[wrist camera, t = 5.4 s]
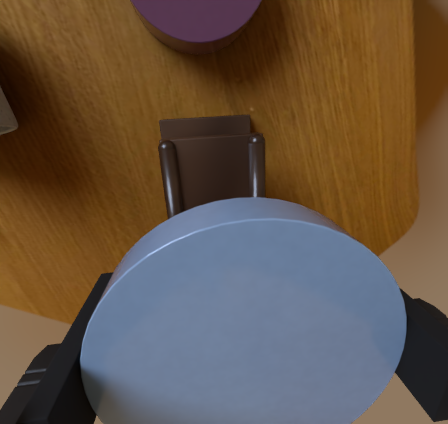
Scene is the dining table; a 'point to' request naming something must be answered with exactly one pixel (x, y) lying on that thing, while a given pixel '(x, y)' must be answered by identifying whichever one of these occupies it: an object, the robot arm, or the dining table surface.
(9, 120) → the ceramic mug
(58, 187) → the dining table surface
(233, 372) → the side plate
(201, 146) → the plate rack
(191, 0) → the plum stand
